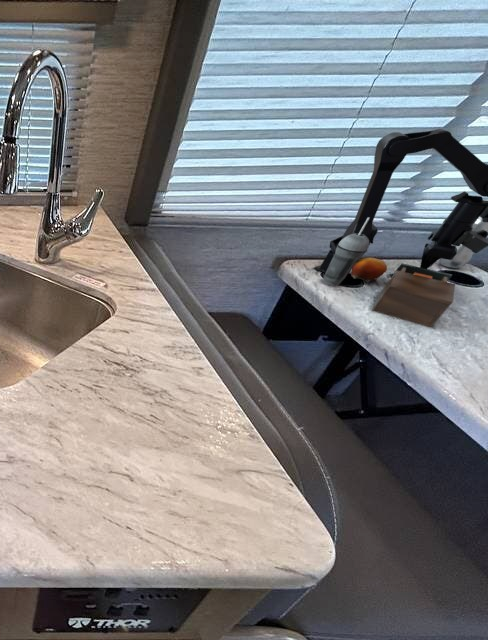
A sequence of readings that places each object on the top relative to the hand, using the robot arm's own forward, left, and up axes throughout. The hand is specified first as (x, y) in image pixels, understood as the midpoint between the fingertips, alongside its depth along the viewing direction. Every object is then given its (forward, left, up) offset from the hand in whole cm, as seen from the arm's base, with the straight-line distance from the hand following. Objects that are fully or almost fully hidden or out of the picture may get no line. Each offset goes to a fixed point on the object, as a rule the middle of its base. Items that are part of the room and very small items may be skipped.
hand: (421, 270), depth 119 cm
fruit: (-11, +8, -4) cm, 14 cm away
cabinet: (-20, -9, -4) cm, 22 cm away
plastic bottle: (+25, +3, -4) cm, 26 cm away
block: (-9, -4, -2) cm, 10 cm away
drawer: (-8, -4, -3) cm, 10 cm away
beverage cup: (-23, +10, -4) cm, 25 cm away
